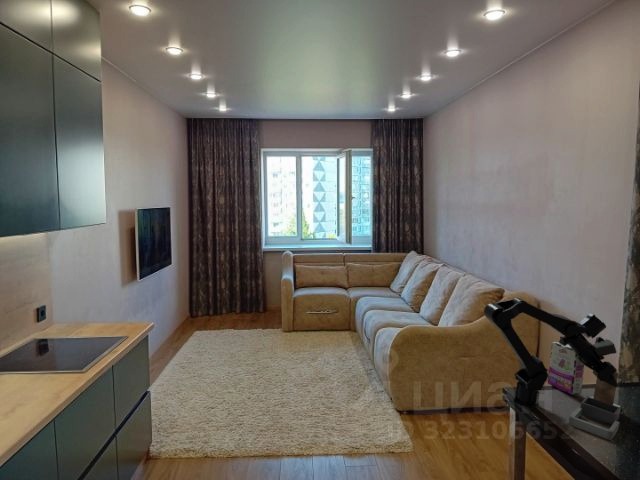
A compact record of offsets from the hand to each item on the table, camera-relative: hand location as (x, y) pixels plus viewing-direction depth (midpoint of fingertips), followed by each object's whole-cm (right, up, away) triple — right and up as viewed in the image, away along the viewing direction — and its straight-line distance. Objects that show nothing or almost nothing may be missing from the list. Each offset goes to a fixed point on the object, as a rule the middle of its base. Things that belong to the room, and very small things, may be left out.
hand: (611, 381), depth 161 cm
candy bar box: (-9, -7, +14) cm, 18 cm away
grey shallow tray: (-14, -11, -12) cm, 21 cm away
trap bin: (-7, -10, -5) cm, 14 cm away
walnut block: (-2, -9, +2) cm, 9 cm away
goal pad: (-2, -9, +2) cm, 10 cm away
